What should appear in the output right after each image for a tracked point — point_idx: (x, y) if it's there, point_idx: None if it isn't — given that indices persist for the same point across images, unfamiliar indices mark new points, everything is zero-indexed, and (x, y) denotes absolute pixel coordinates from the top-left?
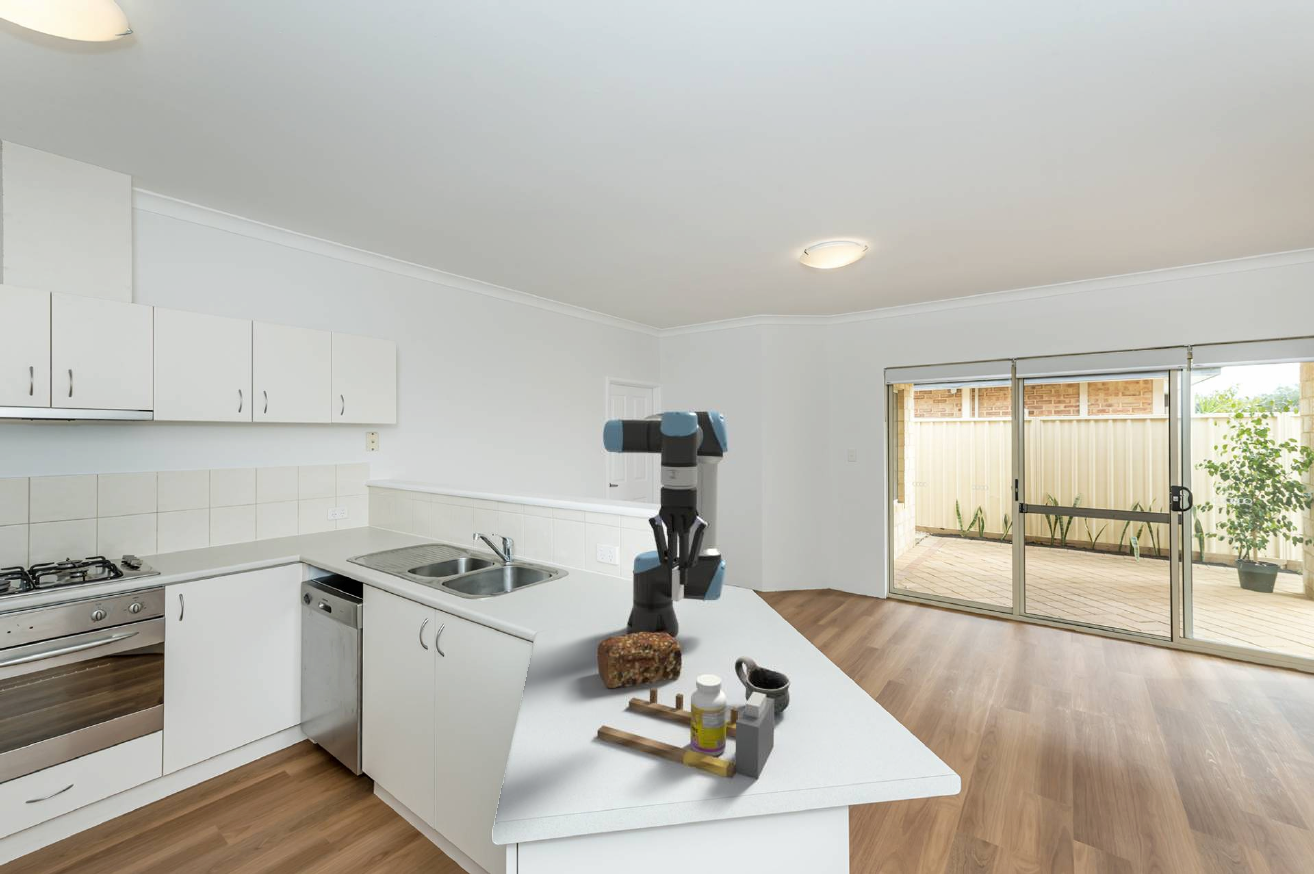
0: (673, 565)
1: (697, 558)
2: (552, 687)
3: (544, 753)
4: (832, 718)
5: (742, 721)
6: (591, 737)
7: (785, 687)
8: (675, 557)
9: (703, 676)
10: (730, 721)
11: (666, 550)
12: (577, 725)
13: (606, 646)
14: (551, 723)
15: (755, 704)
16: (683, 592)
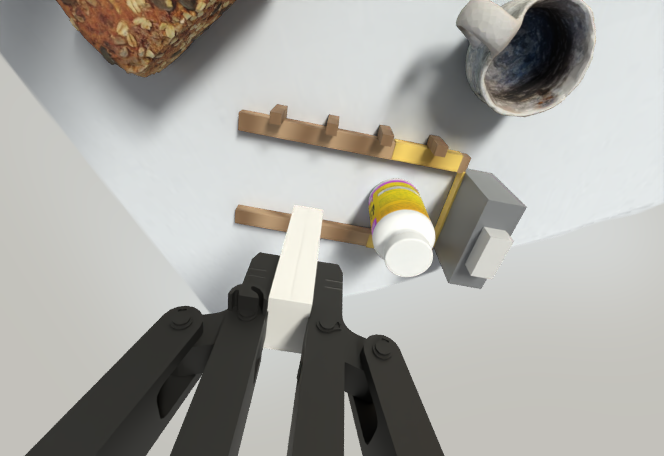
0: (261, 352)
1: (410, 388)
2: (65, 89)
3: (196, 259)
4: (638, 46)
5: (458, 281)
6: (229, 217)
7: (568, 94)
8: (253, 374)
9: (397, 249)
10: (428, 148)
11: (156, 392)
12: (194, 196)
13: (94, 45)
14: (156, 200)
15: (487, 274)
16: (321, 221)
